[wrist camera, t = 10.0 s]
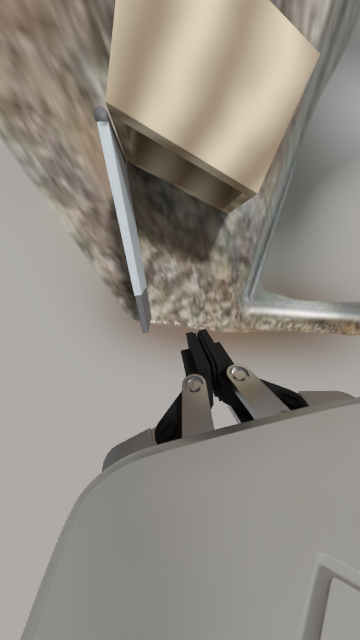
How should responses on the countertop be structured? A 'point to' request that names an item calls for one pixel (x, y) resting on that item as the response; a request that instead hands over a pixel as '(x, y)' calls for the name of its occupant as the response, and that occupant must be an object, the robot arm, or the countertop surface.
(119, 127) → the cabinet
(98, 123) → the door
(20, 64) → the countertop surface
